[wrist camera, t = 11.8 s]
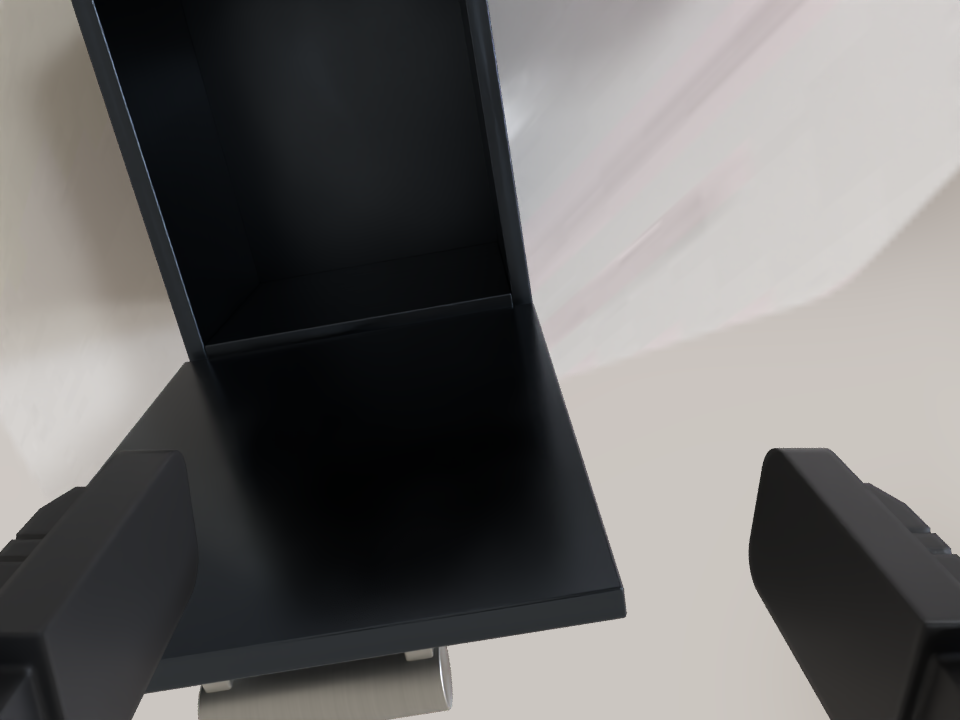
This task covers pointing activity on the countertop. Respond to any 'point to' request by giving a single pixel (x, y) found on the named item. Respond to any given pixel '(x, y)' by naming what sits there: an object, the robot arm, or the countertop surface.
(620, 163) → the countertop surface
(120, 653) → the robot arm
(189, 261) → the trash bin
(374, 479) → the bin lid
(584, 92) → the countertop surface
